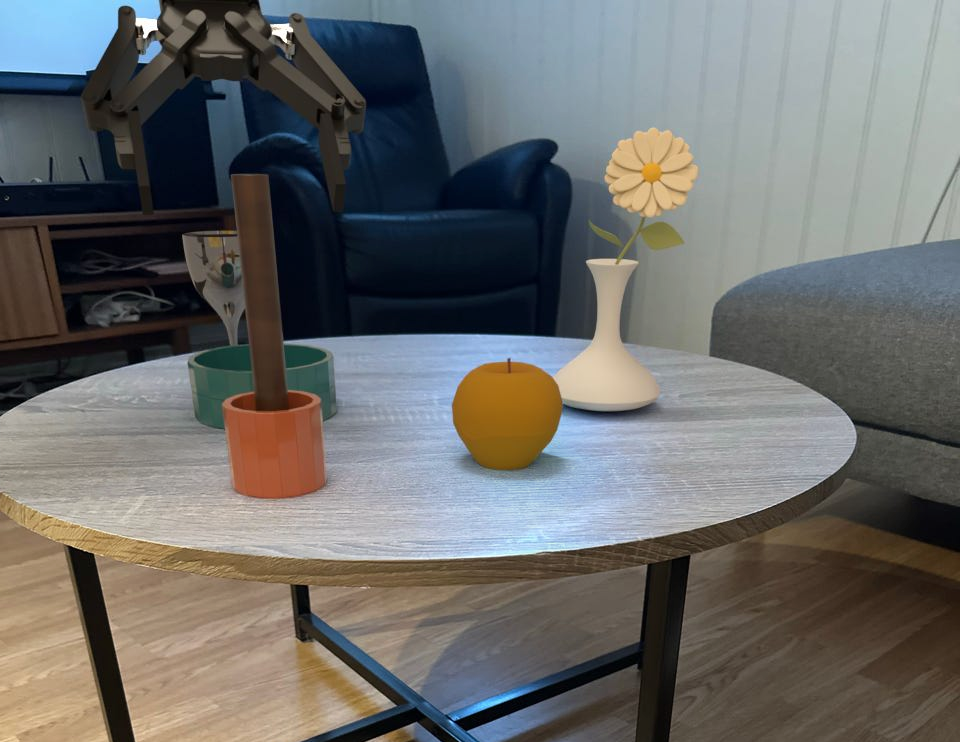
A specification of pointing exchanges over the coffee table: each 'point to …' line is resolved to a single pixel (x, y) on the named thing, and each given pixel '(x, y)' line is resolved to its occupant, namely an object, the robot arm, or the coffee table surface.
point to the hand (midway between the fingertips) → (245, 200)
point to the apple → (507, 413)
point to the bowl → (232, 375)
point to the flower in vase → (628, 271)
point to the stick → (261, 290)
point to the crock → (275, 446)
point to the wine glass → (217, 274)
